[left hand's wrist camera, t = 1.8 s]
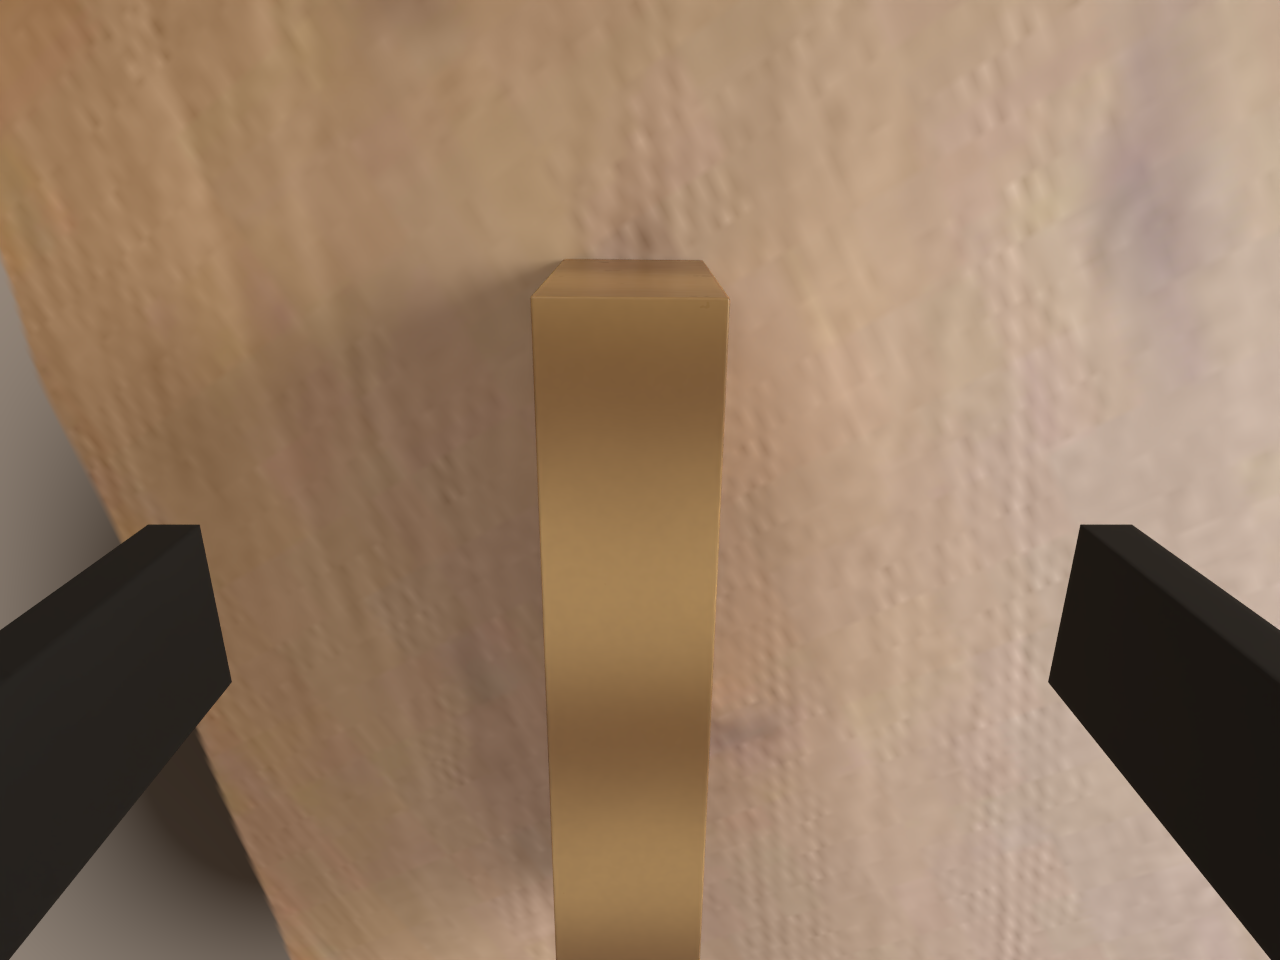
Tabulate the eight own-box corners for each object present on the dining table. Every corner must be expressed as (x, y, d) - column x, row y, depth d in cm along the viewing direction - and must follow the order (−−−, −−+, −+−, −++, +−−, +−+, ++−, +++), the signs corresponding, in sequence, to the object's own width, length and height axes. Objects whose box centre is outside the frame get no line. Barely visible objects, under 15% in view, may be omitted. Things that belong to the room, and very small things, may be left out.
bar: (563, 259, 26) (530, 296, 18) (703, 260, 26) (730, 298, 18) (577, 852, 35) (559, 1052, 27) (683, 853, 35) (695, 1053, 27)
